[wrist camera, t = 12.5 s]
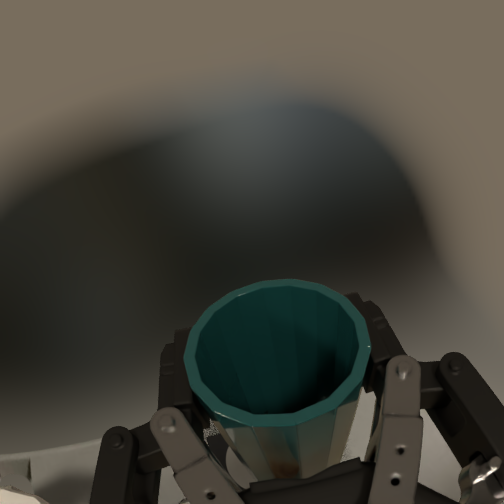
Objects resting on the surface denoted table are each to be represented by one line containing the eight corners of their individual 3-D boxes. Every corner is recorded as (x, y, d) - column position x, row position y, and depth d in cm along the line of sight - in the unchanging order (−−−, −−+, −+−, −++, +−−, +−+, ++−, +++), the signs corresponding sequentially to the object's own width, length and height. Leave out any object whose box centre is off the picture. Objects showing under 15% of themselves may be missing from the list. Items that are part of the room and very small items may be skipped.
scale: (301, 410, 32) (301, 402, 31) (336, 475, 25) (337, 471, 24) (210, 442, 31) (204, 435, 29) (234, 512, 23) (229, 510, 22)
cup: (317, 405, 20) (315, 261, 13) (355, 473, 15) (406, 368, 8) (237, 436, 19) (172, 310, 12) (266, 510, 14) (209, 455, 7)
